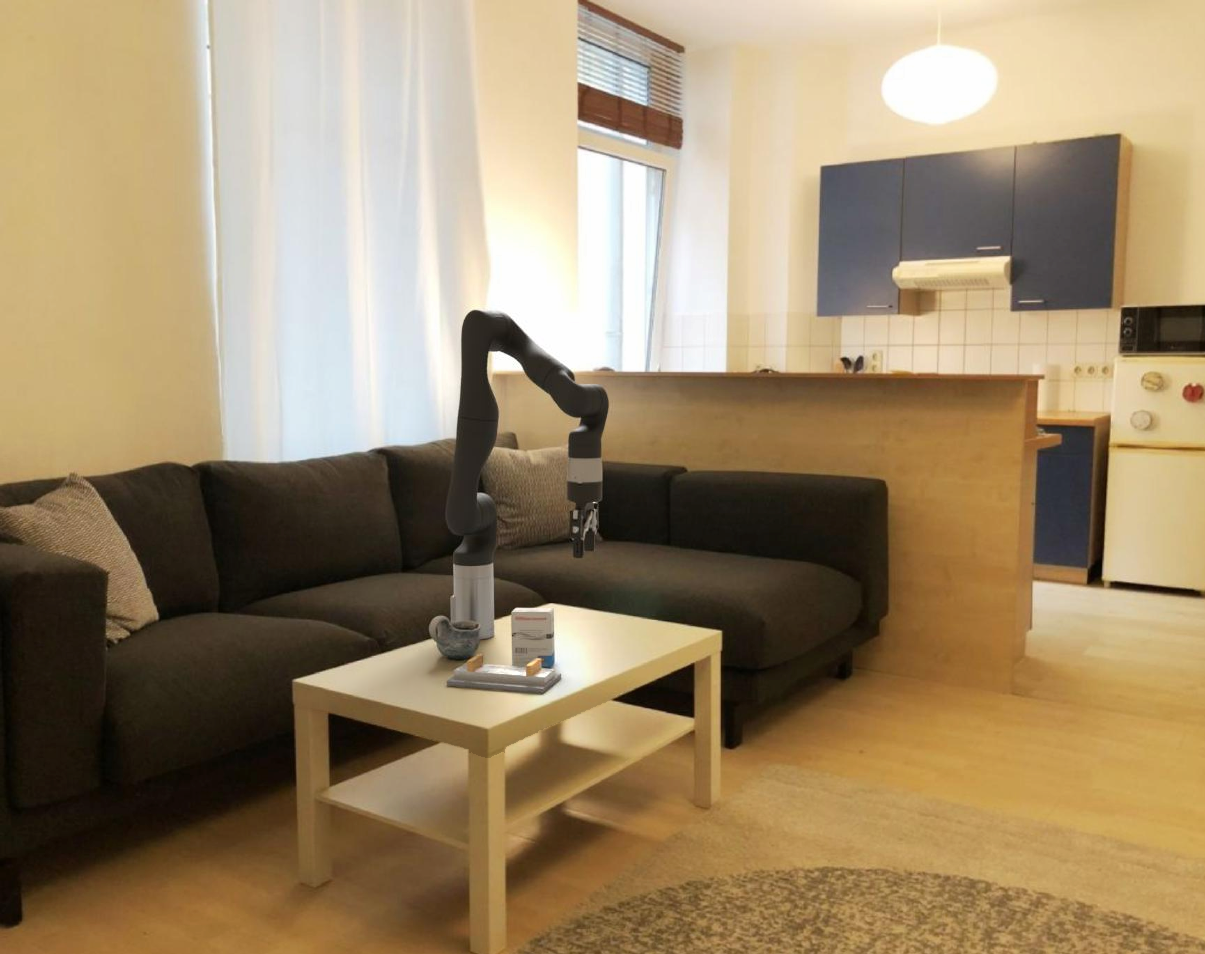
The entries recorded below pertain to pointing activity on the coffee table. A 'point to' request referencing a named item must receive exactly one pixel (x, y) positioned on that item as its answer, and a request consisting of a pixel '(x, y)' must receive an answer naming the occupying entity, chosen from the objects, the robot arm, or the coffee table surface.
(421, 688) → the coffee table surface
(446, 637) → the mug
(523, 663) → the ink box
